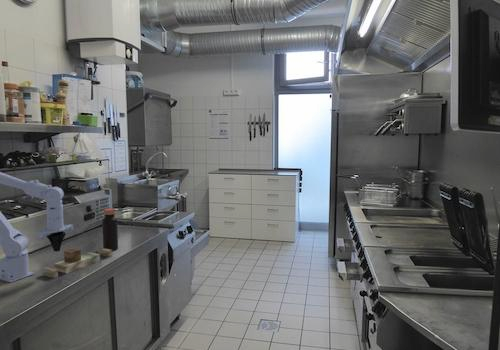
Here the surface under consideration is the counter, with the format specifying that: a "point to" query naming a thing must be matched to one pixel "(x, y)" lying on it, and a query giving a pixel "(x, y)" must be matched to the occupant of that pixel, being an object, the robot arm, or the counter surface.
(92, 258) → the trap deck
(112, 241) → the bottle
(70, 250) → the walnut block
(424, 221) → the counter surface
